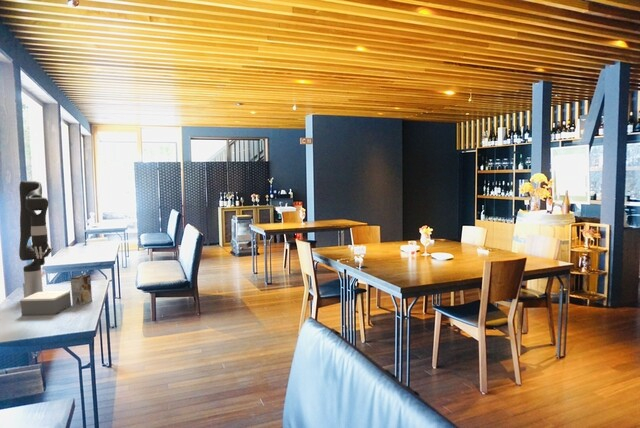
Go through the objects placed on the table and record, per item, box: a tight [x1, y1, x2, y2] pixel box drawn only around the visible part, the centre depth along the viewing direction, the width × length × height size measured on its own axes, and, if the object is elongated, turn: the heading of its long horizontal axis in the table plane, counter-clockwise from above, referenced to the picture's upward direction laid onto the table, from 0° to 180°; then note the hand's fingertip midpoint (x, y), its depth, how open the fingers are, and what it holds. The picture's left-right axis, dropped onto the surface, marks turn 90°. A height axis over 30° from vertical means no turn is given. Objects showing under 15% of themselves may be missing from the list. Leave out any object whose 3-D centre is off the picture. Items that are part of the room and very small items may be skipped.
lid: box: [20, 290, 71, 302], centre depth 247 cm, size 18×16×1 cm
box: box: [20, 292, 72, 317], centre depth 247 cm, size 18×16×8 cm
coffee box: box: [70, 274, 93, 306], centre depth 262 cm, size 9×6×16 cm
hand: (41, 264), depth 242 cm, fingers closed
